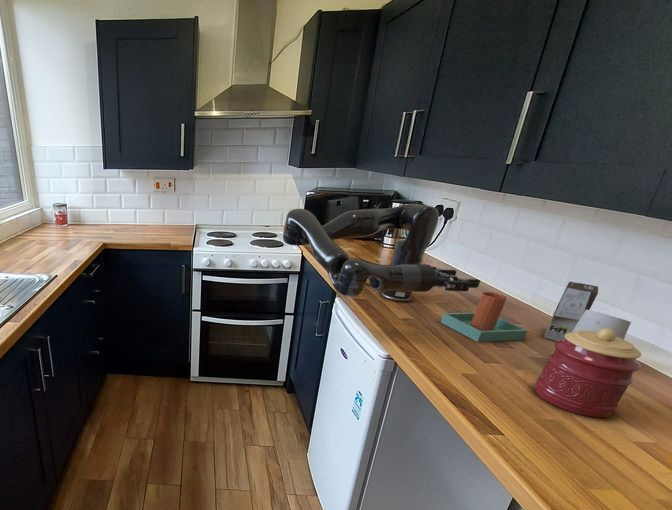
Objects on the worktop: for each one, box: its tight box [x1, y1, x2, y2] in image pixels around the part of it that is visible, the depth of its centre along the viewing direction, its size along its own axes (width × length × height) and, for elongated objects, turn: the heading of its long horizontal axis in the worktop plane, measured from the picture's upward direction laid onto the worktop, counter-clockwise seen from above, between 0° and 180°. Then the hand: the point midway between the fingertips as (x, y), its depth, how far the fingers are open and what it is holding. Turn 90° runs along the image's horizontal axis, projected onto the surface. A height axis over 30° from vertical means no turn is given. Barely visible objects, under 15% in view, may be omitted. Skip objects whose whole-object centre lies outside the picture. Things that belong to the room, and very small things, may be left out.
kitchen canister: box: [534, 328, 642, 418], centre depth 85 cm, size 13×13×18 cm
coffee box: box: [543, 281, 599, 342], centre depth 117 cm, size 9×6×16 cm
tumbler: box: [470, 291, 508, 331], centre depth 120 cm, size 6×6×11 cm
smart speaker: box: [572, 309, 632, 340], centre depth 104 cm, size 10×9×14 cm
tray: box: [440, 312, 528, 343], centre depth 122 cm, size 14×16×3 cm
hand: (466, 278), depth 111 cm, fingers open, 8 cm apart
